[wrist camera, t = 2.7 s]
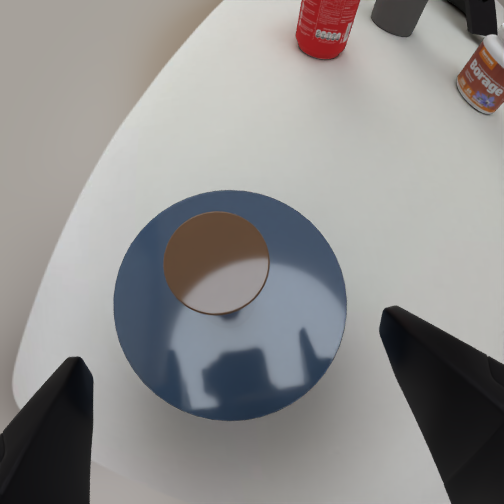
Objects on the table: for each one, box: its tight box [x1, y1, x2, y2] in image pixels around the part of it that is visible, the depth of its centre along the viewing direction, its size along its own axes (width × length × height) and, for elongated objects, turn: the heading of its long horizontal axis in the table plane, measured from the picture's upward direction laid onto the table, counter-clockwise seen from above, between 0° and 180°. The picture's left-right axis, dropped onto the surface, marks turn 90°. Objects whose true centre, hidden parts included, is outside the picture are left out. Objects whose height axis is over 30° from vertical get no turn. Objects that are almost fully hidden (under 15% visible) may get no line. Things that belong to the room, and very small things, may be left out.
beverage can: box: [296, 0, 360, 60], centre depth 22 cm, size 5×5×12 cm
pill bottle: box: [457, 23, 504, 114], centre depth 23 cm, size 6×6×11 cm
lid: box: [114, 190, 347, 421], centre depth 12 cm, size 12×12×9 cm
